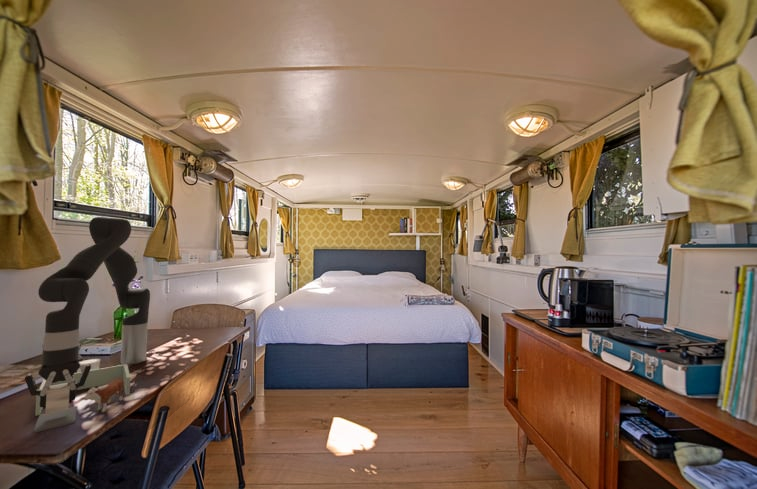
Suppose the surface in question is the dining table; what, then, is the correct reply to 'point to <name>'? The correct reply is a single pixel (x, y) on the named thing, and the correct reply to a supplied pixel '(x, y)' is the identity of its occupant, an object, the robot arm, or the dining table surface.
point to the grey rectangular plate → (55, 419)
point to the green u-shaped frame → (95, 380)
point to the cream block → (57, 398)
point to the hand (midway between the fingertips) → (57, 404)
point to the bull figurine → (105, 393)
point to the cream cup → (94, 363)
